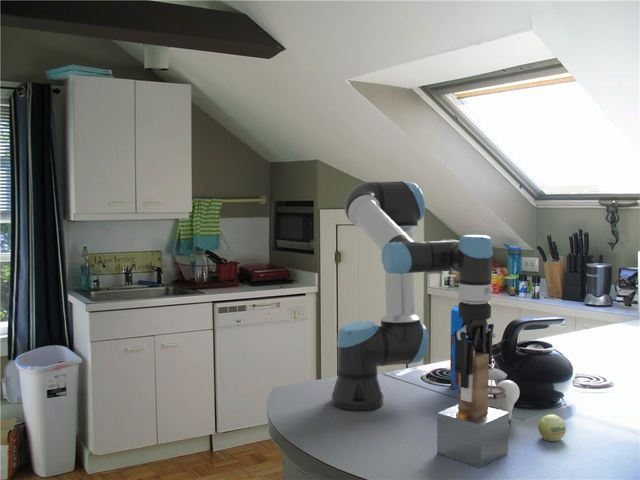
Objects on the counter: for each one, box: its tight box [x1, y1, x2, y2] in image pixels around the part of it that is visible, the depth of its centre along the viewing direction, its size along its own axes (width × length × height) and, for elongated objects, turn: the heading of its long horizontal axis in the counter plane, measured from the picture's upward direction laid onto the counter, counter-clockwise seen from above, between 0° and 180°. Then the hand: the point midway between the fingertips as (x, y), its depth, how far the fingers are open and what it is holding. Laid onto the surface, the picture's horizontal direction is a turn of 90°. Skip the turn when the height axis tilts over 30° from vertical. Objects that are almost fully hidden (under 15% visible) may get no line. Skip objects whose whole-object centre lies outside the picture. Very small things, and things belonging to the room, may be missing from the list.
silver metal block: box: [436, 404, 510, 468], centre depth 167 cm, size 12×12×11 cm
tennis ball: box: [537, 413, 567, 442], centre depth 176 cm, size 6×7×7 cm
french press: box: [488, 332, 510, 429], centre depth 186 cm, size 10×12×25 cm
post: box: [457, 351, 490, 418], centre depth 166 cm, size 5×5×22 cm
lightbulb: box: [495, 379, 520, 421], centre depth 190 cm, size 6×6×11 cm
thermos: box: [449, 306, 475, 392], centre depth 218 cm, size 11×11×25 cm
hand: (473, 397), depth 166 cm, fingers closed on post, 5 cm apart
